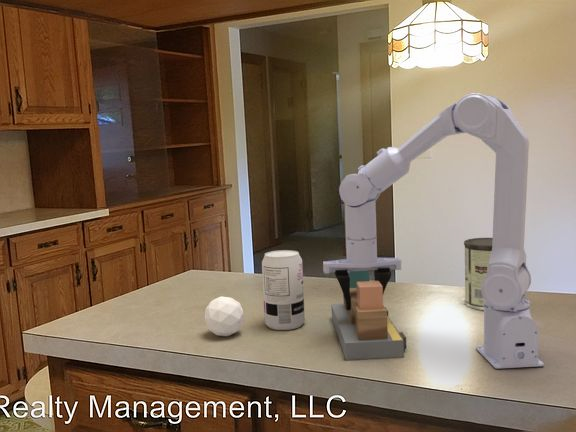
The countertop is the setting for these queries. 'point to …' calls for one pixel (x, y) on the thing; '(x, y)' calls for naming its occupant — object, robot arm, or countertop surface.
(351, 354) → the dock
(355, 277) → the teal crate
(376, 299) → the terracotta brick
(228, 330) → the ball
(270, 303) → the supplement can
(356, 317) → the brown long bar
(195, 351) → the countertop surface
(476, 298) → the coffee can
